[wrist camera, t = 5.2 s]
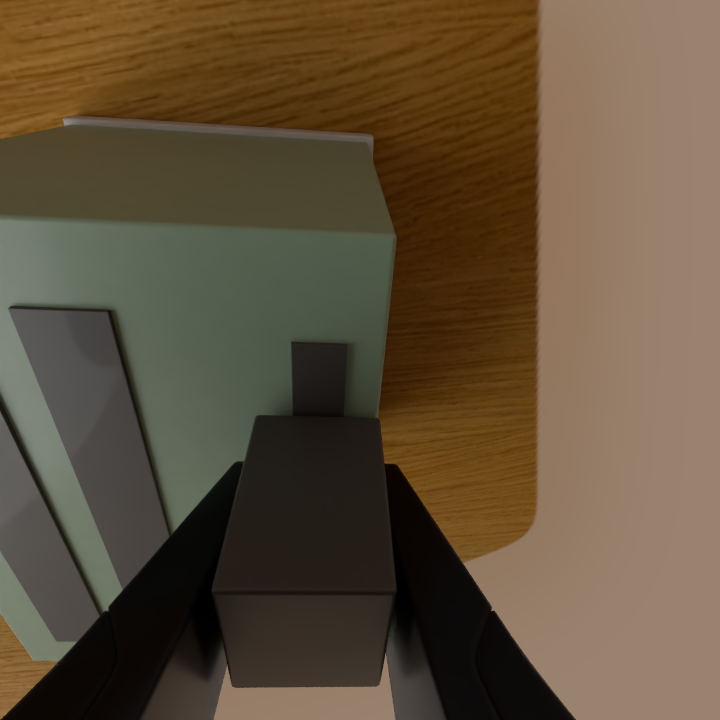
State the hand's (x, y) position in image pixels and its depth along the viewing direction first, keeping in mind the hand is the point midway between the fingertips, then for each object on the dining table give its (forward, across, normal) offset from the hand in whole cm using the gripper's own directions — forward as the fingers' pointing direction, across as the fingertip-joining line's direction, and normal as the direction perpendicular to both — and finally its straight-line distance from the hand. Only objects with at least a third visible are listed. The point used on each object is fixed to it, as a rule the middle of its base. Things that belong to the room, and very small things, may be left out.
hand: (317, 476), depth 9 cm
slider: (0, 0, 0) cm, 0 cm away
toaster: (+12, +4, +2) cm, 12 cm away
